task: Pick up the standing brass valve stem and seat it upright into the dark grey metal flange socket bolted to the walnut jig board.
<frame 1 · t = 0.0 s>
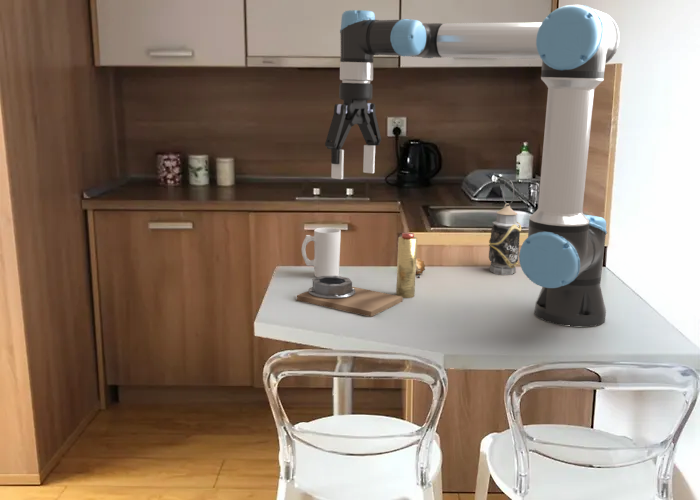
hand: (353, 175, 179), 28 cm above the table, fingers open, 13 cm apart
lantern: (502, 272, 208), on the table
figurine: (414, 276, 202), on the table
flange socket: (331, 297, 180), resting on jig board
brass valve: (405, 295, 183), on the table
mug: (320, 276, 199), on the table
jig board: (349, 301, 178), on the table
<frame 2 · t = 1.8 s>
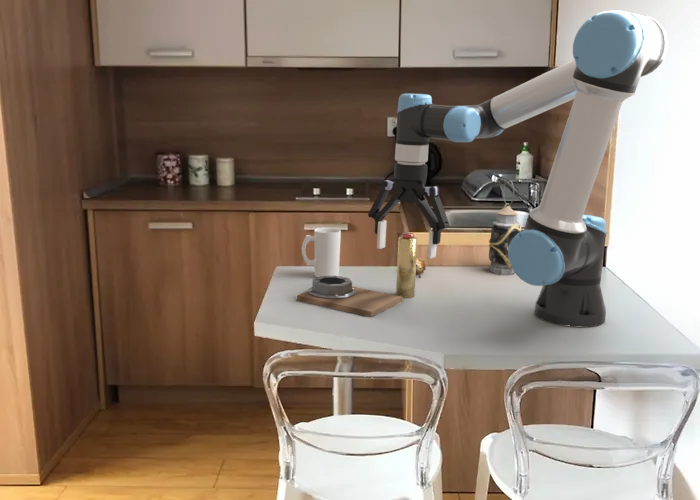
hand: (405, 252, 181), 10 cm above the table, fingers open, 13 cm apart
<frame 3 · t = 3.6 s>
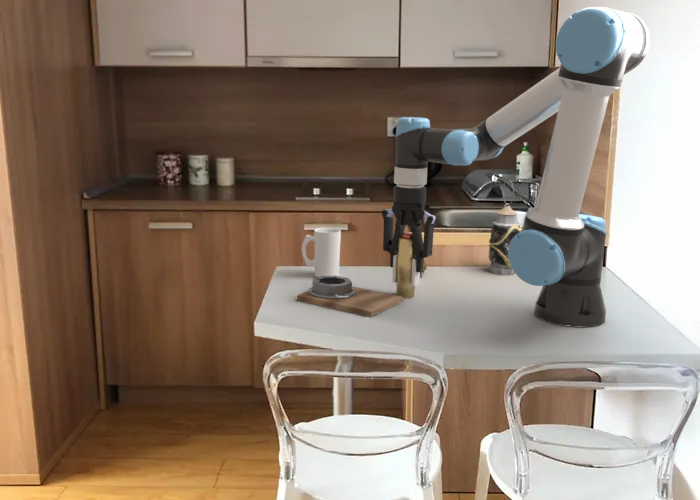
hand: (405, 282, 183), 3 cm above the table, fingers closed on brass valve, 4 cm apart
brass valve: (405, 295, 183), on the table, touching gripper
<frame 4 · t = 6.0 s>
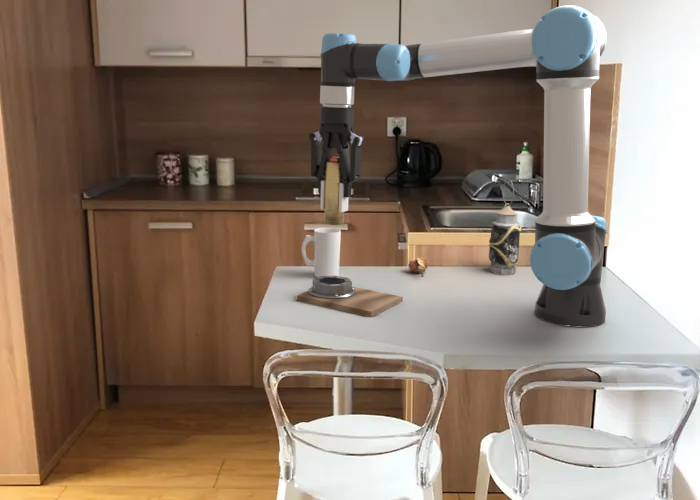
hand: (334, 209, 176), 21 cm above the table, fingers closed on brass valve, 4 cm apart
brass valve: (333, 223, 176), point 18 cm above the table, touching gripper
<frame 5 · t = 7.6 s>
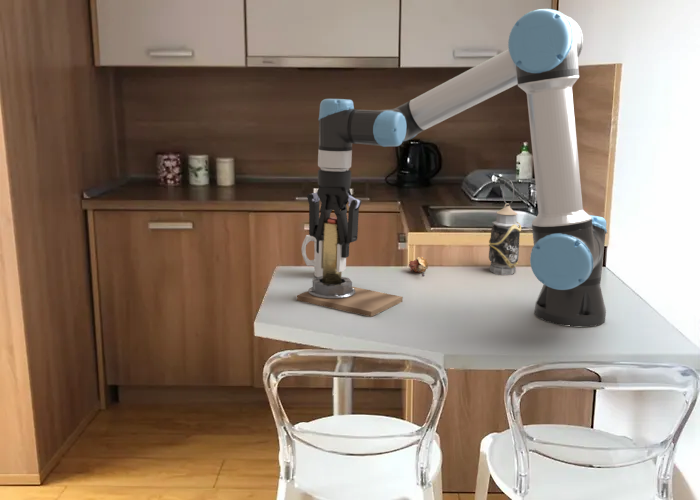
hand: (332, 268, 179), 7 cm above the table, fingers closed on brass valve, 4 cm apart
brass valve: (331, 281, 179), point 4 cm above the table, touching gripper
when the fingers open (6 cm above the table, at t = 8.7 s): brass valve stays where it is, resting on flange socket.
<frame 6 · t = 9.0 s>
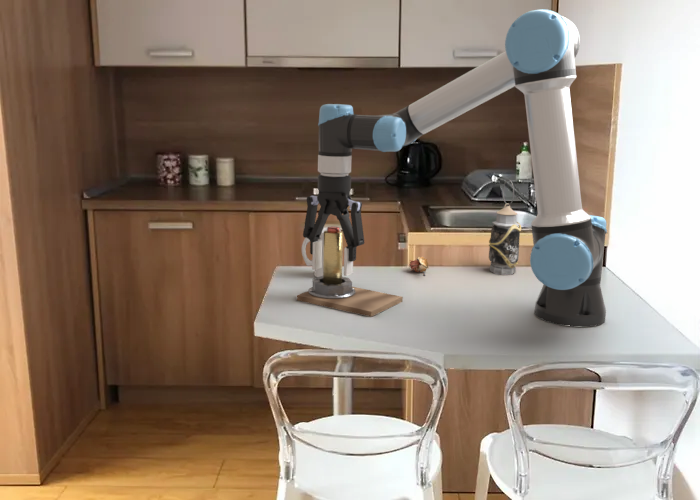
hand: (332, 271, 179), 6 cm above the table, fingers open, 8 cm apart
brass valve: (332, 290, 180), point 2 cm above the table, touching flange socket
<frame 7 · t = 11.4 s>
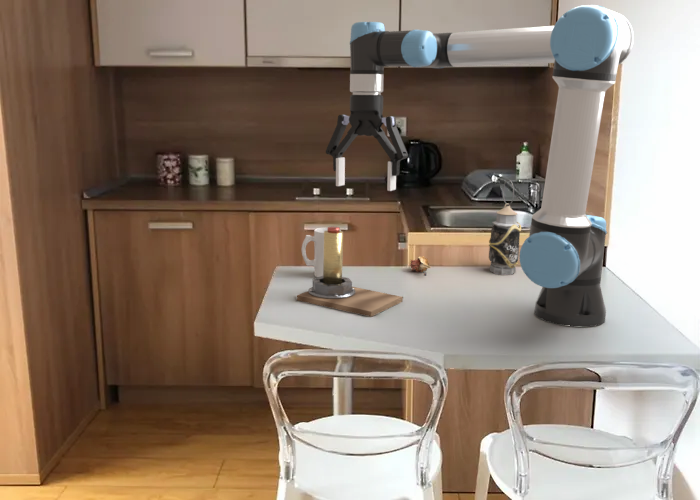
hand: (365, 187, 178), 25 cm above the table, fingers open, 13 cm apart
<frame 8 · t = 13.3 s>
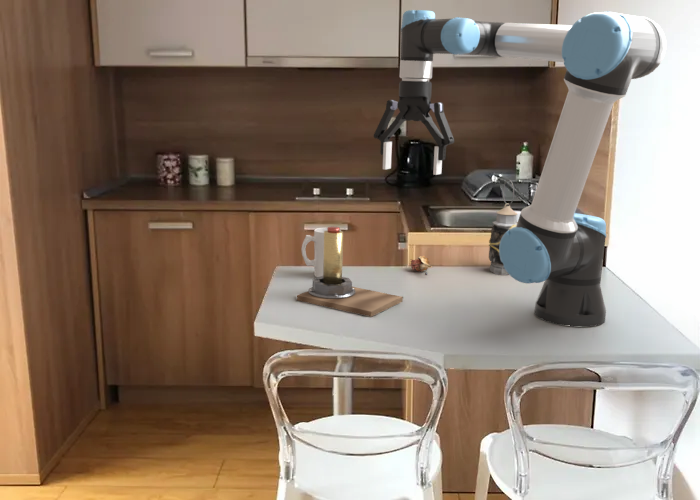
hand: (411, 171, 183), 29 cm above the table, fingers open, 13 cm apart
at the end: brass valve 0.1 cm off-centre on the flange socket, point 1.6 cm above the flange socket's base; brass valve tilted 0°; the gripper is holding nothing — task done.
